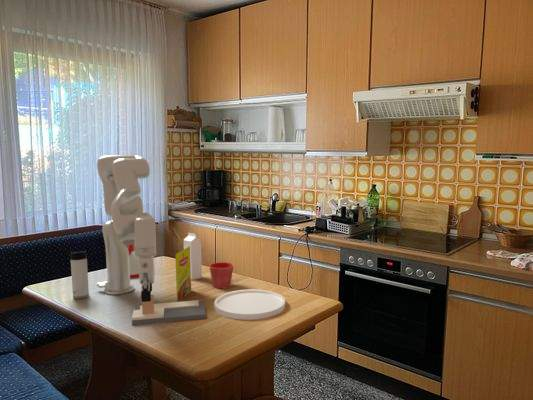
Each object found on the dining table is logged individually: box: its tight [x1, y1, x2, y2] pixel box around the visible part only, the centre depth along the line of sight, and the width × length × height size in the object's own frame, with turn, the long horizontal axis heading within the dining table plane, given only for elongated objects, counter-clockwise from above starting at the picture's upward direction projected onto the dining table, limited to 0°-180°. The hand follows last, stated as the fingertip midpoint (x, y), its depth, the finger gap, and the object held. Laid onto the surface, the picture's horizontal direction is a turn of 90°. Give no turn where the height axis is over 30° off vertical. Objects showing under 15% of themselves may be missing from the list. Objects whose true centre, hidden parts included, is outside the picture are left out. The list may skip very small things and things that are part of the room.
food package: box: [175, 246, 192, 302], centre depth 179 cm, size 15×1×20 cm, turn 168°
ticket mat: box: [131, 299, 207, 326], centre depth 160 cm, size 26×15×2 cm, turn 102°
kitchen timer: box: [127, 244, 139, 279], centre depth 213 cm, size 14×14×15 cm
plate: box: [213, 288, 286, 321], centre depth 168 cm, size 28×28×2 cm
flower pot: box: [208, 261, 234, 289], centre depth 193 cm, size 11×11×10 cm
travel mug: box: [69, 250, 90, 300], centre depth 180 cm, size 6×7×20 cm
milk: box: [183, 232, 203, 281], centre depth 205 cm, size 6×6×22 cm
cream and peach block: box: [131, 294, 164, 321], centre depth 155 cm, size 11×8×7 cm
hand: (146, 296), depth 155 cm, fingers open, 9 cm apart
